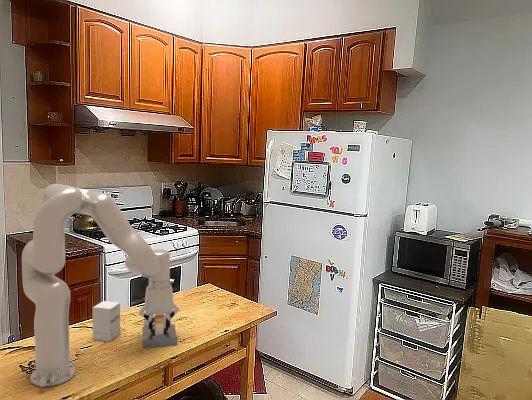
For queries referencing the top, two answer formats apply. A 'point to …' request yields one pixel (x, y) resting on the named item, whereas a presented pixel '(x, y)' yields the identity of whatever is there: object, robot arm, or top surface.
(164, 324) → the grey slotted plate
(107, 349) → the top surface
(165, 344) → the port
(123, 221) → the robot arm
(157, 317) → the plug
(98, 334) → the supplement box
